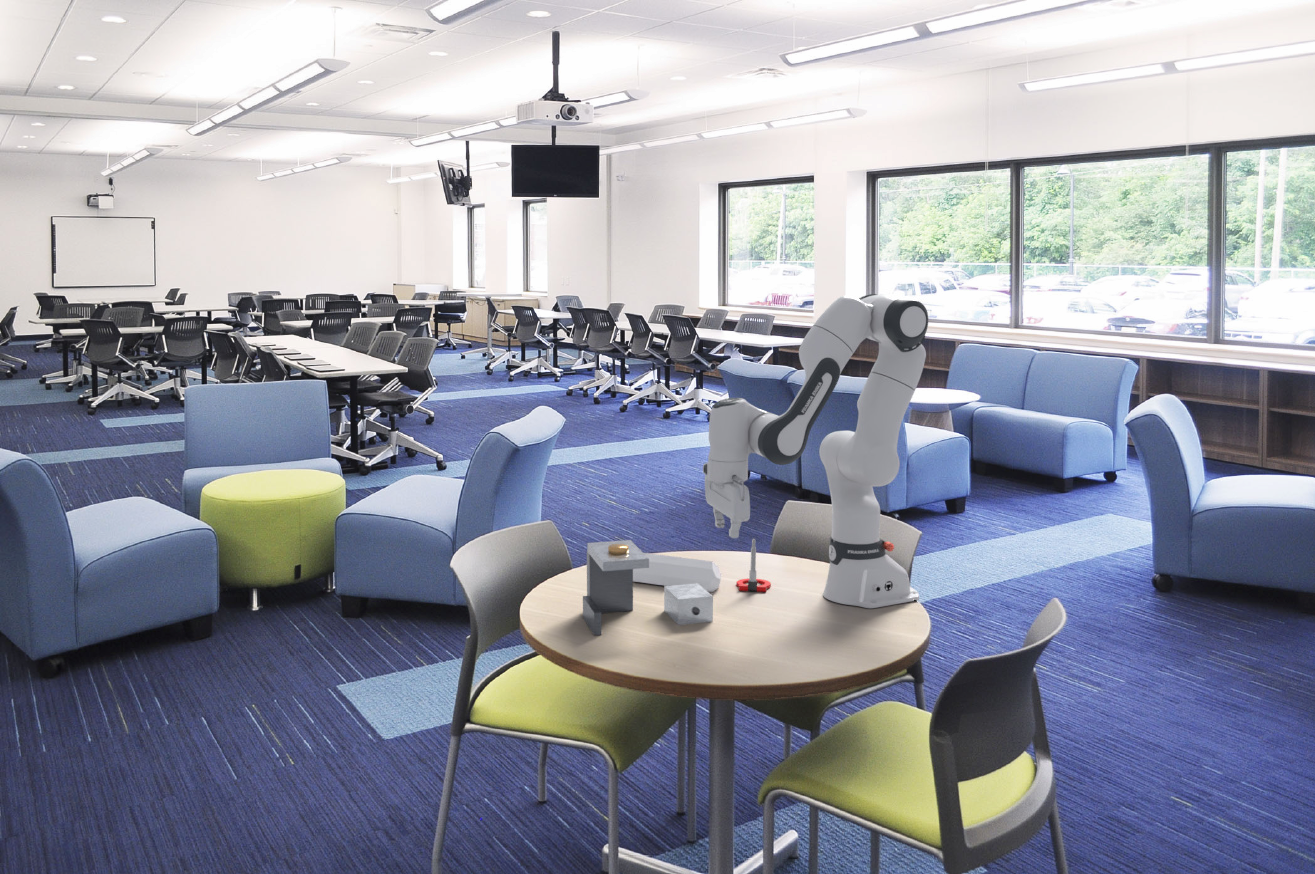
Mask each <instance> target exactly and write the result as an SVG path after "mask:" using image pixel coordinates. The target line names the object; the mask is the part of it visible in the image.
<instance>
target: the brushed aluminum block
mask: <svg viewBox="0 0 1315 874" xmlns="http://www.w3.org/2000/svg"><path fill="white" fill-rule="evenodd" d="M663 587H664V590H663V591H664V592H663V593H664V596H663V598H664V600H663V602H664V603H663V611H664V613H666V614H667V616H669V617H670V618H671V619H672V620H673V621H674V623H676V624H677V625H678V626H682V625H692V624H700V623H711V622H712V623H713V621H714V620H713V619H714V618H713V617H714V614H713V613H714V595H712V594H711V592H708V591H706V590H705V589H704V588H703V587H701V586H700V585H699V584H698V583H695V584H684V585H673V586H664V585H663Z"/></svg>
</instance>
